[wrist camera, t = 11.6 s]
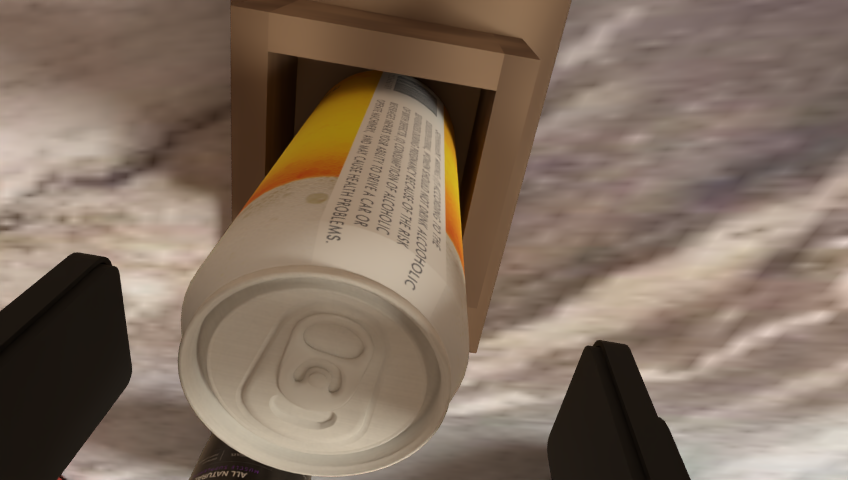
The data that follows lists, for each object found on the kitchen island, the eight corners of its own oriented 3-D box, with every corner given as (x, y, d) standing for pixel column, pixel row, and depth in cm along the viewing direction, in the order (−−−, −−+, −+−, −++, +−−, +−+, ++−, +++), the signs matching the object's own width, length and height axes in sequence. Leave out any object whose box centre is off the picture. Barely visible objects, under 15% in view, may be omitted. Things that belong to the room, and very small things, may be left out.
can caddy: (600, -131, 20) (652, -155, 15) (474, 341, 30) (481, 417, 25) (239, -203, 19) (170, -252, 14) (239, 306, 29) (199, 378, 25)
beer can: (297, 171, 25) (134, 440, 11) (340, 40, 22) (189, 200, 9) (421, 219, 26) (402, 517, 12) (478, 101, 23) (529, 325, 10)
